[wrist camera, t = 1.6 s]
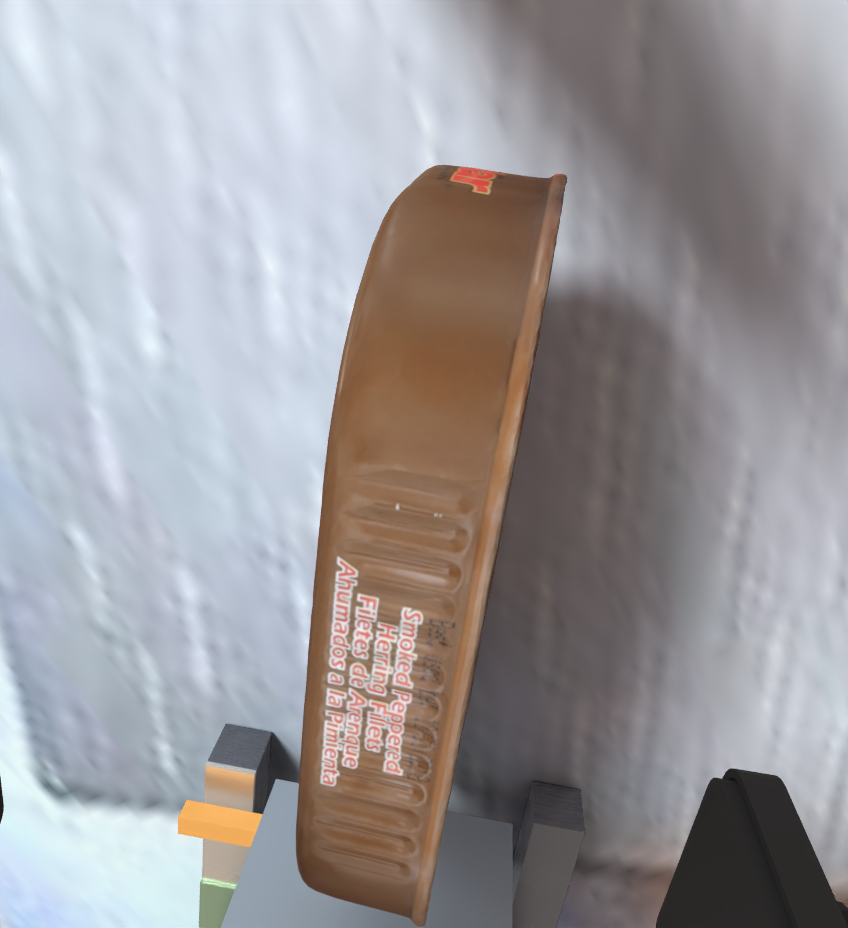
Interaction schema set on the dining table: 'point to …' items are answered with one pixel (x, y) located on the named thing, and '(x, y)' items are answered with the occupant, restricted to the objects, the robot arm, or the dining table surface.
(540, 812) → the frame
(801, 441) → the dining table surface
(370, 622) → the tin
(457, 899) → the gauge carriage
